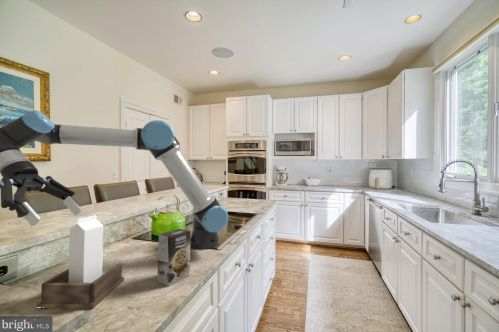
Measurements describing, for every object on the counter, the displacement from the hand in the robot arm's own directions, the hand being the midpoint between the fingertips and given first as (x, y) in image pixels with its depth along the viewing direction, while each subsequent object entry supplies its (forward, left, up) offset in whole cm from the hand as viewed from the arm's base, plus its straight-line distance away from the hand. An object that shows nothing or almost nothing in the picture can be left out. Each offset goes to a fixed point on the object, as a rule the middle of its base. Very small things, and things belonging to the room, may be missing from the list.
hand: (59, 217), depth 66 cm
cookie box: (-33, -9, -23) cm, 41 cm away
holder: (-9, 0, -23) cm, 24 cm away
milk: (-9, 0, -22) cm, 24 cm away
